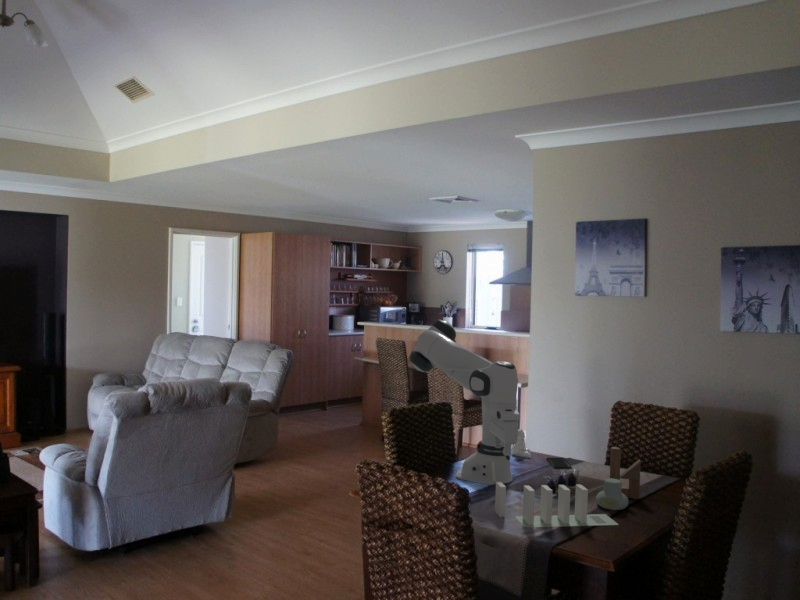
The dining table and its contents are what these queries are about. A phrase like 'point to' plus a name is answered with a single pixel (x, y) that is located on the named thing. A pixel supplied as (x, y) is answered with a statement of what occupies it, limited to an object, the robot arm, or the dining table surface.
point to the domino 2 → (528, 504)
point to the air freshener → (612, 495)
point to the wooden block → (625, 474)
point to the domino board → (570, 521)
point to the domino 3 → (546, 504)
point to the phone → (559, 463)
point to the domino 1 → (500, 499)
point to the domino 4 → (563, 504)
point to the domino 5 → (581, 503)
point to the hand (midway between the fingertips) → (501, 451)
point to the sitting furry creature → (521, 446)
